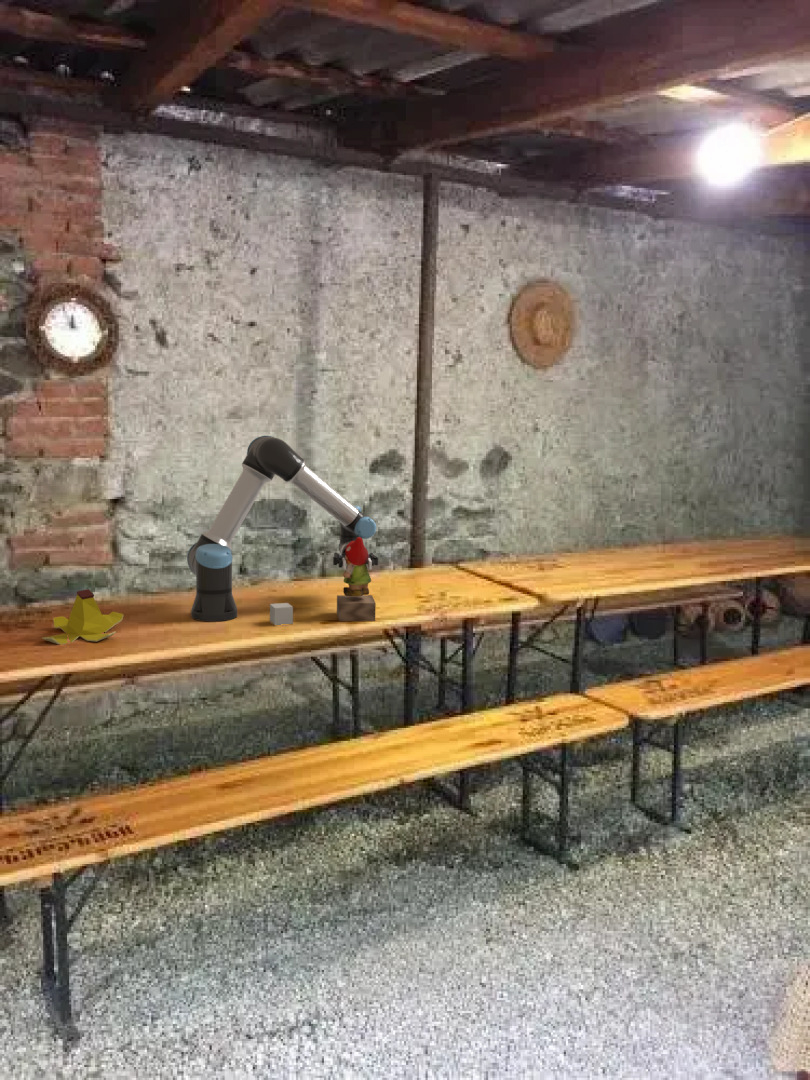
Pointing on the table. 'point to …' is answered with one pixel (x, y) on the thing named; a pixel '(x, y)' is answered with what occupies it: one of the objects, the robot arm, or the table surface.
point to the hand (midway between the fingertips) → (357, 565)
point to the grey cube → (281, 613)
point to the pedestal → (356, 608)
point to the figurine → (356, 569)
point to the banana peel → (84, 621)
